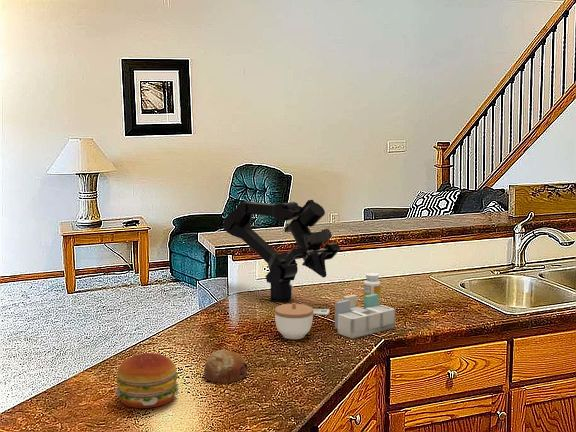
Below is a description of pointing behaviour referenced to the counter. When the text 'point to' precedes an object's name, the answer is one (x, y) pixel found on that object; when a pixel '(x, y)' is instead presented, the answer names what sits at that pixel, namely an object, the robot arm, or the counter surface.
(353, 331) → the gray divided box
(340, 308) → the drawer slate
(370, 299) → the button teal
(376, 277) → the supplement bottle
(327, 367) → the counter surface
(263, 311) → the counter surface
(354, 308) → the button tan
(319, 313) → the card
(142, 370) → the burger
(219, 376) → the bread roll
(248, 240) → the robot arm
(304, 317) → the lidded jar
